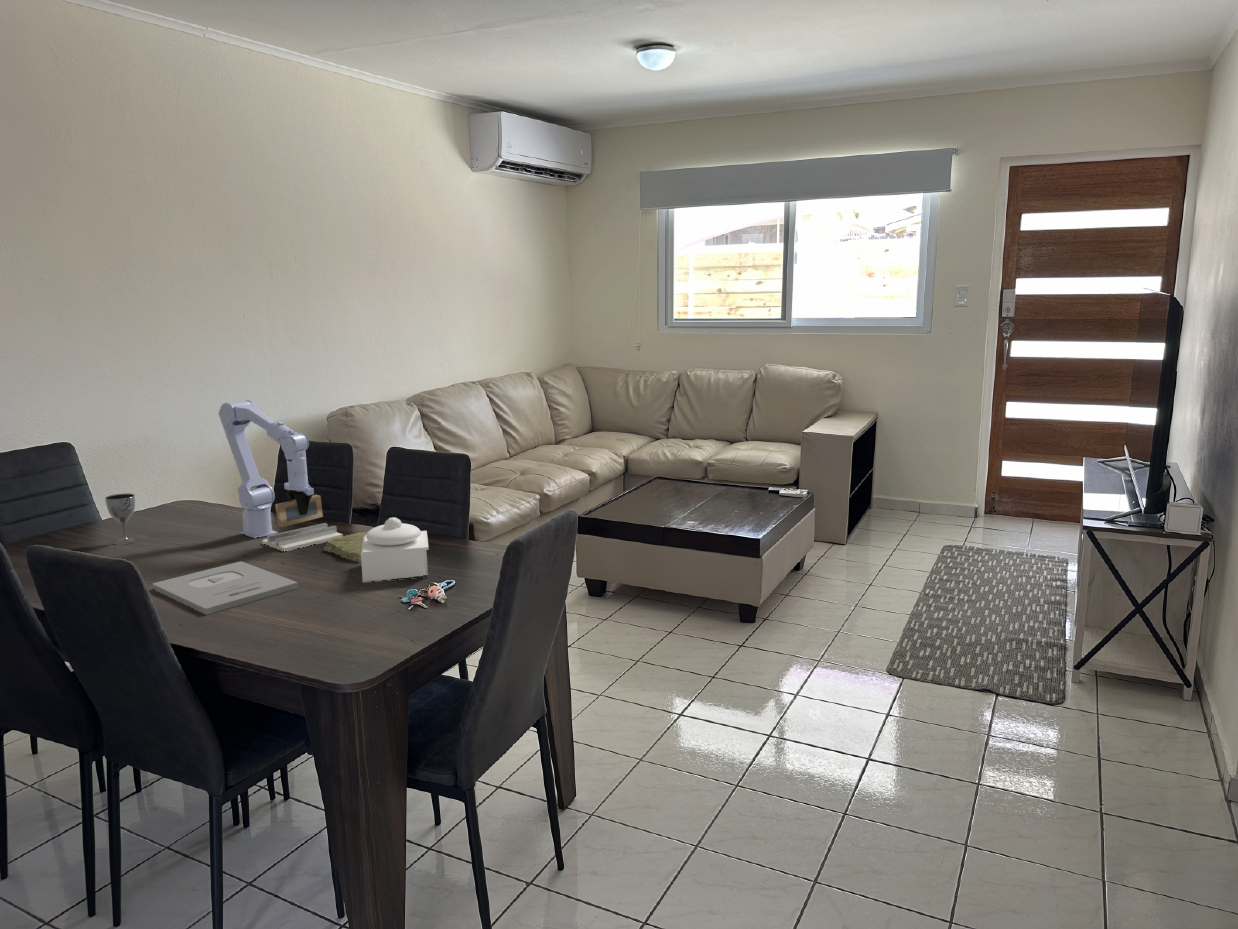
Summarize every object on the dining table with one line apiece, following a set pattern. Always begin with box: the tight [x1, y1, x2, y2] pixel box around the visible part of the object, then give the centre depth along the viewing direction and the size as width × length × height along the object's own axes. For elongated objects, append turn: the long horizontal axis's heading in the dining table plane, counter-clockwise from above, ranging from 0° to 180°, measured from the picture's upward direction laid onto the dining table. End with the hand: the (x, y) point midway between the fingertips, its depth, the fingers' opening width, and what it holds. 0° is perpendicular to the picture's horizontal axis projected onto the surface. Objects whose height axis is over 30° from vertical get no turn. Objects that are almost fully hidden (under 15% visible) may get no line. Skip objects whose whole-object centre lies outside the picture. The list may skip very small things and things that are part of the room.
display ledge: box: [261, 522, 344, 553], centre depth 269 cm, size 14×20×3 cm
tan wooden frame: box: [275, 494, 324, 528], centre depth 267 cm, size 3×14×7 cm, turn 139°
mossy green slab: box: [323, 530, 370, 563], centre depth 259 cm, size 19×20×4 cm
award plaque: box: [151, 560, 299, 616], centre depth 225 cm, size 25×30×2 cm
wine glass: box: [105, 492, 136, 541], centre depth 268 cm, size 8×8×15 cm
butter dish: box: [360, 517, 429, 583], centre depth 239 cm, size 18×18×16 cm
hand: (300, 513), depth 268 cm, fingers closed on tan wooden frame, 3 cm apart
